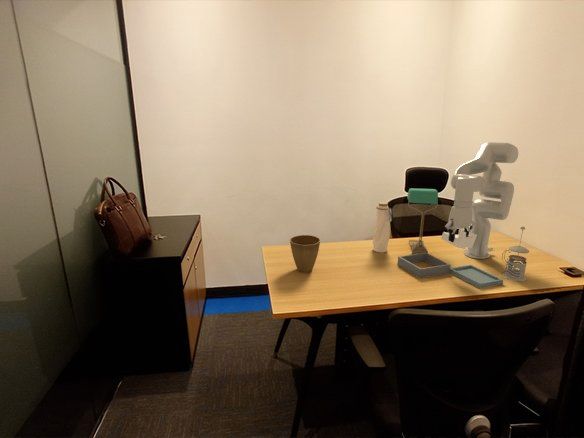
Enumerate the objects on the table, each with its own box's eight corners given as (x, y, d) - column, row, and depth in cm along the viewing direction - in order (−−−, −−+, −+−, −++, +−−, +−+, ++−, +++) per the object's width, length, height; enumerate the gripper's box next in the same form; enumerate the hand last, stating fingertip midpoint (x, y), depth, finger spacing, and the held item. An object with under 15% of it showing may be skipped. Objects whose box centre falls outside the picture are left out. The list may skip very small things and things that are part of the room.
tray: (470, 268, 174) (470, 264, 173) (502, 284, 157) (503, 279, 156) (448, 272, 170) (449, 268, 169) (479, 288, 152) (480, 283, 152)
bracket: (471, 250, 158) (477, 234, 157) (458, 247, 156) (464, 232, 155) (452, 241, 171) (457, 226, 169) (440, 238, 169) (446, 224, 167)
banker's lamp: (405, 252, 196) (410, 192, 187) (402, 241, 215) (407, 186, 206) (434, 254, 193) (441, 193, 183) (428, 243, 212) (434, 186, 203)
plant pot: (288, 264, 179) (288, 235, 175) (317, 263, 181) (317, 234, 176) (291, 276, 165) (291, 245, 161) (321, 275, 166) (322, 244, 162)
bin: (425, 260, 185) (426, 252, 183) (449, 273, 168) (450, 264, 167) (397, 264, 179) (398, 256, 178) (419, 278, 163) (420, 269, 162)
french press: (518, 282, 158) (528, 230, 152) (494, 273, 168) (502, 224, 162) (530, 278, 162) (540, 227, 156) (506, 269, 172) (514, 221, 166)
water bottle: (392, 249, 201) (395, 202, 193) (387, 254, 193) (391, 205, 186) (375, 246, 206) (378, 200, 199) (370, 250, 199) (372, 203, 191)
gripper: (471, 201, 164) (467, 236, 169) (441, 203, 159) (437, 240, 164) (484, 204, 157) (479, 241, 162) (452, 207, 152) (448, 245, 157)
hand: (458, 240), depth 163 cm, fingers closed on bracket, 7 cm apart
